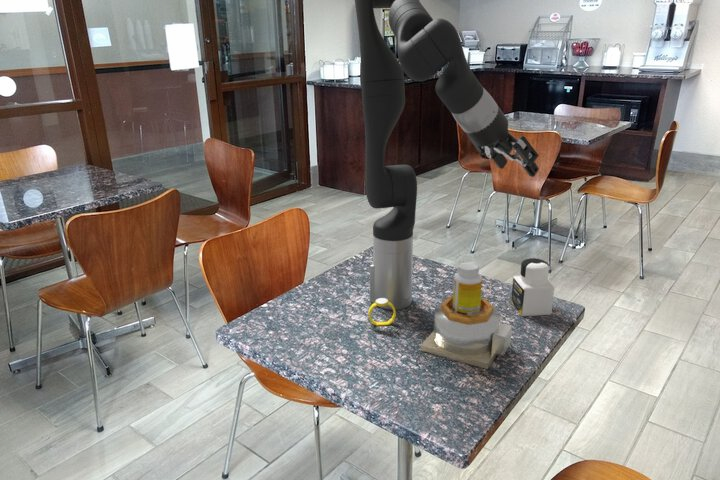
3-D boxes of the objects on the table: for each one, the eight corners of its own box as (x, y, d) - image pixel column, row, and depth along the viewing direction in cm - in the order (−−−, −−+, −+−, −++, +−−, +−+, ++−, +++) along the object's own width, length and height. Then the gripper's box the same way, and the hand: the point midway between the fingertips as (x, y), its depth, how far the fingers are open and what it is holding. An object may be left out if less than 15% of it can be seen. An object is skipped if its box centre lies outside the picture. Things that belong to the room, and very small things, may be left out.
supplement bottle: (485, 315, 111) (488, 268, 107) (462, 321, 108) (465, 273, 105) (469, 304, 115) (471, 258, 112) (446, 309, 113) (448, 263, 110)
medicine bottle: (510, 302, 132) (514, 256, 127) (539, 301, 132) (544, 254, 128) (521, 316, 125) (525, 268, 121) (551, 315, 125) (557, 266, 121)
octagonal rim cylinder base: (420, 350, 112) (421, 312, 109) (446, 321, 123) (447, 285, 120) (496, 371, 105) (499, 331, 102) (516, 338, 116) (519, 301, 113)
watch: (370, 329, 121) (368, 305, 119) (368, 323, 124) (366, 299, 122) (397, 325, 122) (395, 301, 119) (395, 319, 124) (393, 296, 122)
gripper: (518, 103, 96) (557, 160, 105) (465, 97, 108) (504, 149, 117) (493, 137, 95) (535, 191, 105) (442, 126, 107) (483, 176, 116)
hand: (518, 169), depth 111 cm, fingers open, 8 cm apart
